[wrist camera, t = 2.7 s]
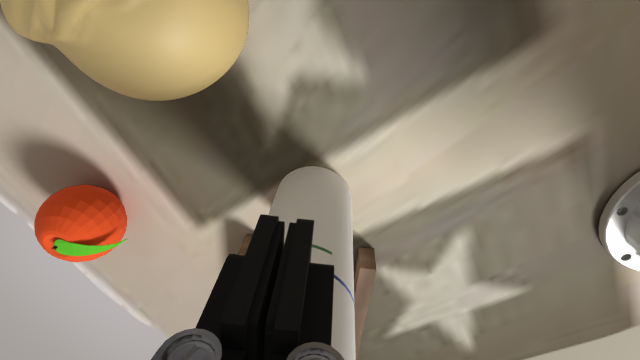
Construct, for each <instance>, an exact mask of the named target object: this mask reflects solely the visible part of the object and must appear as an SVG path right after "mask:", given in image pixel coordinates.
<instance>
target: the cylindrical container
mask: <svg viewBox="0 0 640 360" xmlns="http://www.w3.org/2000/svg"><path fill="white" fill-rule="evenodd" d="M269 215H271V216H278V217H279V221H283V222H285V233H284V244H285V240H286V236H287V231H288V227H289V223H290V222H292V223H296V221H297V218H298V219H307V220H314V230H313V240H312V251H311V261H310V263H318V264H327V265H334V289H333V314H332V338H331V346H332V347H333V348H334V349H336V350H337V351H338V352H339V353H340V354H341V355H342V357H343V358H344V360H356V352H355V311H354V271H353V230H352V197H351V192H350V189H349V187H348V185H347V183H346V182H345V181H344V180H343V179H342V177H340V176H339V175H338V174H337V173H335V172H333V171H331V170H329V169H326V168H323V167H317V166H307V167H302V168H298V169H296V170H294V171H292V172H290V173H289V174H287V175H286V176H285V177H284V178H283V179H282V181H281V182H280V184H279V186H278V189H277V192H276V194H275V197H274V200H273V203H272V206H271V209H270V212H269Z"/></svg>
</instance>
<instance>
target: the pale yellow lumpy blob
mask: <svg viewBox="0 0 640 360" xmlns="http://www.w3.org/2000/svg"><path fill="white" fill-rule="evenodd" d="M0 4H1V7H2V10H3V13H4V15H5V18H6V20H7V21H8V23H9V24H10V26H11V27H12V28H13V30H14V31H15V32H17V33H18V34H19V35H21V36H23V37H25V38H28V39H30V40H33V41H36V42H41V43H49V44H52V45H54V46H55V47H57V48H58V49H59V50H60V51H61V52H62V53H63V54H64V55H65V56H66V57H67V58H68V59H69V60H70V61H71V62H72V63H73V64H74V65H75V66H77V67H78V68H79V69H80V70H81V71H82V72H84V73H85V74H86V75H88V76H89V77H90V78H92V79H93V80H95V81H96V82H98V83H100V84H101V85H103V86H105V87H107V88H109V89H111V90H113V91H115V92H117V93H120V94H122V95H125V96H129V97H132V98H136V99H141V100H149V101H166V100H174V99H179V98H183V97H187V96H190V95H192V94H195V93H197V92H199V91H201V90H203V89H205V88H207V87H208V86H210V85H212V84H213V83H214V82H216V81H217V80H218V79H220V78H221V77H222V76H223V75H224V74H225V73H226V72H227V71H228V70H229V69H230V68H231V66H232V65H233V64H234V62H235V61H236V59H237V58H238V56H239V54H240V53H241V51H242V48H243V46H244V43H245V41H246V37H247V33H248V27H249V4H248V0H0Z"/></svg>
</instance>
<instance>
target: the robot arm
mask: <svg viewBox="0 0 640 360" xmlns="http://www.w3.org/2000/svg"><path fill="white" fill-rule="evenodd" d="M313 230H314V220H307V219H298V218H297V221H296V223H292V222H290V223H289V227H288V231H287V236H286V240H285V244H284V233H285V222H283V221H279V217H278V216H271V215H260V217H259V220H258V223H257V225H256V228H255V230H254V233H253V236H252V238H251V241H250V244H249V246H248V249H247V252H246V254H245V255H236V254H229V255H228V257H227V259H226V261H225V263H224V265H223V267H222V270H221V272H220V274H219V276H218V279H217V281H216V283H215V285H214V288H213V290H212V292H211V294H210V297H209V299H208V301H207V303H206V306H205V308H204V310H203V312H202V315H201V317H200V319H199V321H198V324H197V326H196V328H194V329H188V330H184V331H181V332H179V333H176V334H175V335H173V336H172V337H170V338H169V339H167V340H166V341H165V342H164V343H163V345H162V346H161V347H160V348H159V349H158V351H157V352H156V353H155V355H154V356H153V358H152V359H151V360H344V358H343V357H342V355H341V354H340V353H339V352H338V351H337V350H336V349H334V348H333V347H332V346H331V338H332V314H333V289H334V265H327V264H318V263H310V261H311V251H312V240H313ZM598 230H599V238H600V241H601V243H602V245H603V248H604V249H605V250H606V251H607V252H608V253H609V254H610V255H611V256H612V257H613V258H614V259H615V260H616V261H617V262H618V263H620V264H622V265H624V266H625V267H627V268H630V269H633V270H637V271H640V171H639V172H637V173H636V174H634V175H633V176H632V177H631V178H630V179H628V180H627V181H626V182H625V183H624V184H622V185H621V187H620V188H619V189H618V190H617V191H616V192H615V193H614V194H613V196H612V197H611V198H610V200H609V201H608V203H607V205H606V206H605V208H604V210H603V213H602V215H601V218H600V223H599V229H598Z"/></svg>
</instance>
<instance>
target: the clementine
mask: <svg viewBox="0 0 640 360" xmlns="http://www.w3.org/2000/svg"><path fill="white" fill-rule="evenodd" d="M126 226H127V215H126V212H125V208H124V206H123V204H122V202H121V201H120V200H119V199H118V198H117V197H116V196H115V195H114V194H113V193H111V192H110V191H108V190H106V189H104V188H100V187H97V186H92V185H78V186H72V187H66V188H64V189H62V190H60V191H58V192H56V193H54V194H53V195H51V196H50V197H49V198H48V199H47V200H46V201H45V202H44V203H43V204H42V205H41V207H40V208H39V210H38V212H37V215H36V218H35V235H36V237H37V240H38V241H39V243H40V244H41V246H42V247H43V248H44V249H45V250H46V251H47V252H48V253H49V254H51V255H52V256H55V257H57V258H59V259H62V260H66V261H70V262H82V261H90V260H94V259H96V258H98V257H101V256H103V255H105V254H107V253H108V252H110V251H111V250H112V249H113V248H114V247H116V246H118V245H119V244H121V243H122V242H124V241H125V240H127V239H125V240H123V241H121V239H122V238H123V236H124V233H125V231H126Z"/></svg>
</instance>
